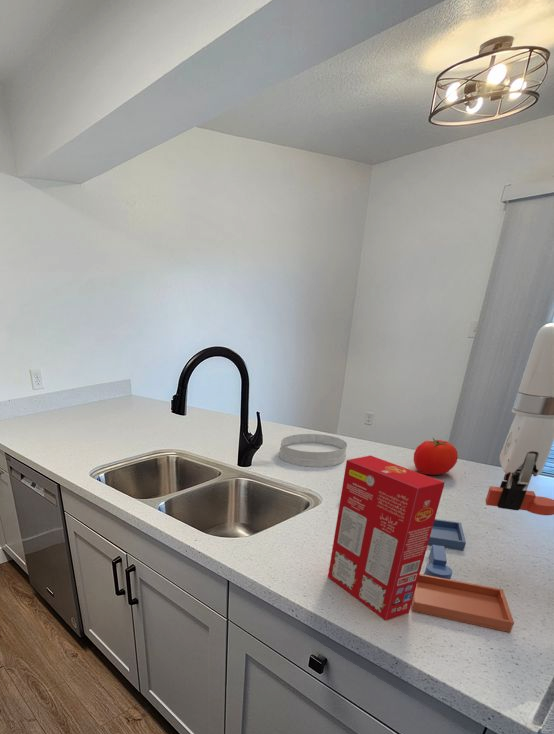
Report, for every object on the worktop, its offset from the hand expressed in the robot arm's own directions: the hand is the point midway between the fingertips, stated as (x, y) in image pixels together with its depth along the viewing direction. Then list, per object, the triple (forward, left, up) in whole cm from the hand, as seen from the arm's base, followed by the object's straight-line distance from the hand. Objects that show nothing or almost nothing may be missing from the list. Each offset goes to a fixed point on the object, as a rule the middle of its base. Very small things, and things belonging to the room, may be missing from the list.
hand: (507, 504), depth 80 cm
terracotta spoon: (-2, 0, 0) cm, 2 cm away
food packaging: (+20, +16, -15) cm, 30 cm away
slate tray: (+10, -14, -15) cm, 23 cm away
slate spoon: (+8, +2, -15) cm, 17 cm away
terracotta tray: (+6, +13, -15) cm, 21 cm away
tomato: (+7, -58, -15) cm, 60 cm away
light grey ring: (+43, -63, -15) cm, 77 cm away
